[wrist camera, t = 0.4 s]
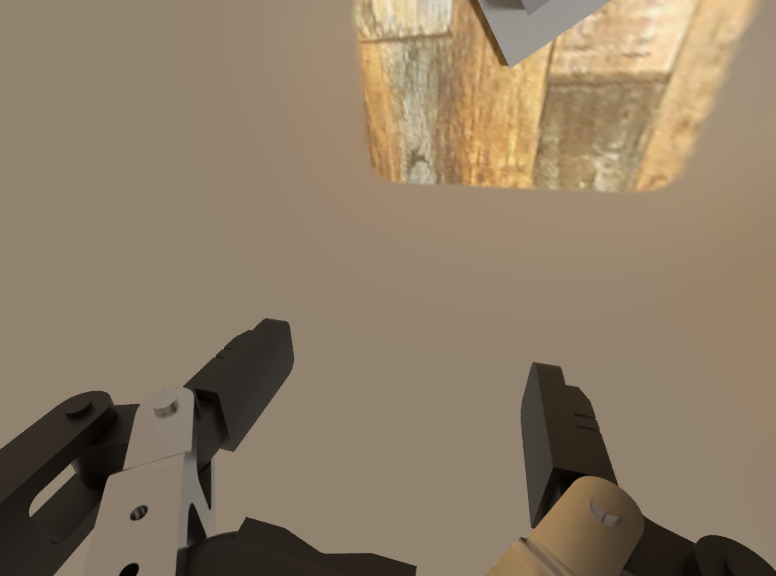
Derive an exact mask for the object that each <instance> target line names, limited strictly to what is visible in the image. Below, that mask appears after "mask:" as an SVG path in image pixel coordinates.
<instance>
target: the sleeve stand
mask: <svg viewBox="0 0 776 576" xmlns="http://www.w3.org/2000/svg"><path fill="white" fill-rule="evenodd" d="M609 1H611V0H478V2H479V4H480V6H481V8H482V10H483V12H484V15H485V17H486V19H487V21H488V23H489V25H490V27H491V29H492V31H493V33H494V36H495V38H496V40H497V42H498V44H499V46H500V48H501V50H502V52H503V55H504V57H505V59H506V61H507V63H508V65H509V67H510V68H512V67H513V66H515V65H516V64H518V63H519V62H521V61H522V60H524V59H525V58H527V57H528V56H529V55H531V54H532V53H534V52H535V51H537V50H538V49H540V48H541V47H543V46H544V45H546V44H547V43H549V42H550V41H552V40H553V39H555V38H556V37H558V36H559V35H561V34H562V33H563V32H565V31H566V30H568V29H569V28H571V27H572V26H574V25H575V24H577V23H578V22H580V21H581V20H583V19H584V18H586V17H587V16H589V15H590V14H592V13H593V12H595V11H596V10H597V9H599V8H600V7H602V6H603V5H605V4H606V3H608V2H609Z"/></svg>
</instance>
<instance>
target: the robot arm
mask: <svg viewBox="0 0 776 576" xmlns="http://www.w3.org/2000/svg"><path fill="white" fill-rule="evenodd" d="M293 363H294V354H293V346H292V339H291V332H290V326H289V323H288V322H287V321H281V320H275V319H269V318H265V319H264V320H262V321H261V322H260V323H259V324H258V325H257V326H256V327H255V328H254V329H253V330H248V331H246V332H244V333H242V334H241V335H238V336H237V337H235V338H234V339H233V340H232V341H230V342H229V343H228V344H227V345H226V346H225V347H224V350H221V351H220V352H219V353H218V354H217V355H216V357H215V358H213V359H212V360H211V361H209V363H207V364H206V365H205V366H204V367H203V368H202V369H201V370H200V371H199V372H198V373H197V374H196V375H195V376H194V377H192V379H190V380H189V381H188V382H187V383H186V384H185V385H184V386H183V387H172V388H168V389H164V390H161V391H159V392H157V393H154V394H153V395H151V396H149V397H148V398H147V399H145V400H144V401H143V402H142V403H141V404H130V405H114V403H113V401H112V399H111V397H110V395H109V394H108V393H106V392H103V391H90V392H86V393H82V394H79V395H76V396H74V397H71V398H69V399H67V400H66V401H64V402H62V403H61V404H60V405H58V406H56V407H55V408H54V409H53V410H51V411H50V412H49V413H47V414H46V415H45V416H43V417H42V418H41V419H40V420H38V421H37V422H36V423H34V424H33V425H32V426H30V427H29V428H28V429H26V430H25V431H24V432H22V433H21V434H20V435H18V436H17V437H16V438H15V439H13V440H12V441H11V442H9V443H8V444H7V445H6V446H4V447H3V448H1V449H0V576H53V575H54V574H55V573H56V572H57V571H58V570H59V568H60V567H61V566H62V565H63V563H64V562H65V561H66V560H67V559H68V558H69V557H70V555H71V554H72V553H73V552H74V551H75V550H76V548H77V547H78V546H79V545H80V544H81V543H82V541H83V540H84V539H85V538H86V537H87V536H88V534H89V533H90V532H91V531H92V530H93V529H94V531H93V535H92V538H91V542H90V547H89V550H88V554H87V557H86V561H85V565H84V569H83V572H82V576H416V568H417V566H414V565H410V564H407V563H403V562H400V561H397V560H393V559H389V558H386V557H383V556H379V555H376V554H372V553H356V554H355V553H349V554H325V553H321V552H319V551H317V550H316V549H314V548H313V547H312V546H310V545H309V544H307V543H306V542H304V541H303V540H301V539H300V538H299V537H297V536H296V535H294V534H293V533H291V532H290V531H288V530H287V529H285V528H283V527H279V526H276V525H272V524H269V523H265V522H261V521H258V520H255V519H252V518H248V517H246V518H245V520H244V522H243V524H242V525H241V527H240V529H239V531H233V532H227V533H222V534H218V532H217V527H216V516H215V462H214V458H213V456H214V455H215V454H216V452H217V451H218V450H219V448H221V449H224V450H228V451H232V452H233V451H235V450H236V448H237V447H238V445H239V444H240V442H241V441H242V440H243V438H244V437H245V436H246V434H247V433H248V431H249V430H250V429H251V427H252V426H253V425H254V423H255V422H256V420H257V419H258V418H259V416H260V415H261V413H262V412H263V411H264V409H265V408H266V406H267V405H268V404H269V402H270V401H271V399H272V398H273V397H274V395H275V394H276V392H277V391H278V390H279V388H280V386H282V384H283V383H284V381H285V380H286V378H287V377H288V376H289V374H290V372H291V370H292V367H293ZM595 418H596V417H595V414H594V411H593V408H592V405H591V402H590V401H589V399H588V398H587V397H586V396H585V395H584V393H583V392H582V391H581V390H580V389H579V387H574V386H568V385H565V380H564V377H563V373H562V369H561V367H560V366H554V365H548V364H542V363H536V362H533V363H532V366H531V369H530V373H529V376H528V380H527V384H526V388H525V392H524V395H523V400H522V405H521V427H522V438H523V448H524V459H525V469H526V480H527V490H528V501H529V511H530V522H531V528H533V529H534V530H533V531H532V533H531V534H530V535H529V536H528V537H527V538H525V539H524V538H519V539H518V540H517V541H516V542H515V543H514V544H513V545H512V546H511V547H510V548H509V549H508V551H507V552H506V553H505V554H504V555H503V556H502V558H501V559H500V560H499V561H498V562H497V563H496V565H495V566H494V567H493V568H492V569H491V570H490V571H489V573H488V574H487V575H486V576H776V571H775V570H774V569H773V567H771V566H770V565H769V564H768V563H767V562H766V561H765V560H764V559H763V558H761V557H760V556H759V555H758V554H756V553H755V552H753V551H752V550H750V549H749V548H747V547H746V546H744V545H742V544H740V543H738V542H736V541H734V540H732V539H729V538H726V537H722V536H718V535H708V536H704V537H702V538H700V539H699V540H698V541H697V543H696V544H695V543H693V542H691V541H689V540H687V539H685V538H683V537H681V536H679V535H677V534H675V533H673V532H671V531H669V530H667V529H665V528H663V527H661V526H659V525H658V524H656V523H654V522H652V521H651V520H649V519H648V518H646V517H645V516H644V515H642V512H641V510H640V508H639V507H638V505H637V504H636V502H635V501H634V500H633V499H632V498H631V496H629V495H628V494H627V493H626V492H625V491H624V490H623V489H621V488H620V487H619V486H618V483H617V480H616V477H615V474H614V471H613V468H612V465H611V462H610V459H609V456H608V453H607V450H606V447H605V444H604V441H603V438H602V435H601V433H600V429H599V426H598V423H597V420H595ZM70 463H71V465H72V467H73V468H74V470H75V472H76V473H75V474H74V475H73V476H72V477H71V479H69V480H68V481H67V482H66V483H65V484H64V485H63V486H62V487H61V488H60V489H59V490H58V491H57V492H56V493H55V494H54V495H53V496H52V497H51V498H50V499H49V500H48V501H47V502H46V503H45V504H44V505H43V506H42V507H41V508H40V509H39V510H38V511H36V512H35V513H34V514H33V515H32V516H31V517H30V516H29V508H30V505H31V503H32V501H33V500H34V498H35V497H36V496H37V494H38V493H39V492H40V491H41V490H43V489H44V488H45V487H46V486H47V485H48V484H49V483H50V482H51V481H52V480H53V479H54V478H55V477H56V476H57V475H59V474H60V473H61V472H62V471H63V470H64V469H65V468H66V467H67V466H68V465H69V464H70Z"/></svg>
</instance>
